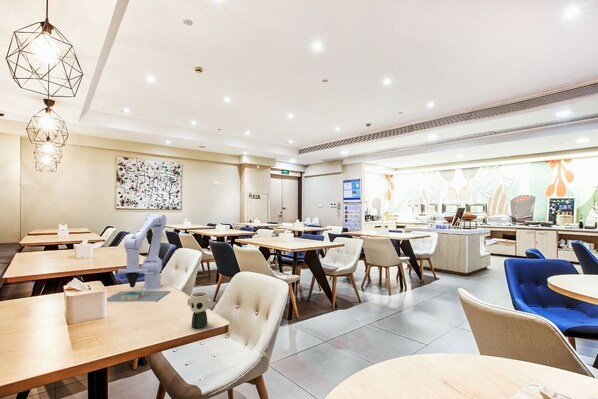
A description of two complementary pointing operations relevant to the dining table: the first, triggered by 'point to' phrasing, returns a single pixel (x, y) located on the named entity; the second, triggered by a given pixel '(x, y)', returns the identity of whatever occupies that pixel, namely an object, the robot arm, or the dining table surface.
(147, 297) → the rubber mat
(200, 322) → the character mug
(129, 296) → the birch tile
